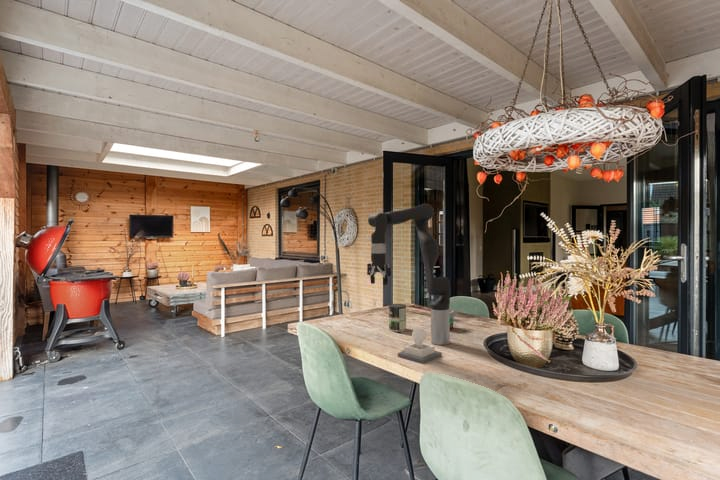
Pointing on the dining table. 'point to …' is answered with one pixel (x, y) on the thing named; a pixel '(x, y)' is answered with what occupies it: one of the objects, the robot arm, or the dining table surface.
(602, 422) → the dining table surface
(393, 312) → the coffee can
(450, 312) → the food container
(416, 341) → the lightbulb
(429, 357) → the socket stand
